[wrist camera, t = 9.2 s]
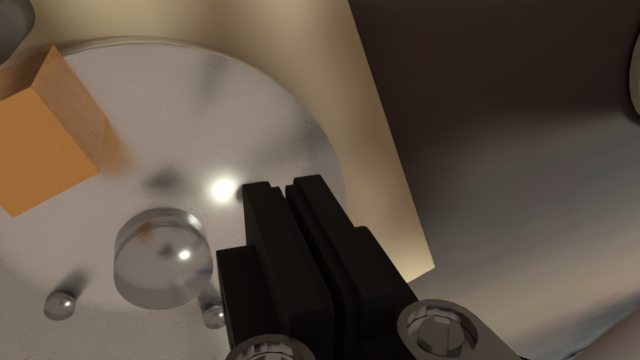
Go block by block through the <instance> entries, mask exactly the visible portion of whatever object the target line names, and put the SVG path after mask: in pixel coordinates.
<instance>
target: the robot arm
mask: <svg viewBox="0 0 640 360" xmlns="http://www.w3.org/2000/svg"><path fill="white" fill-rule="evenodd" d="M629 87H630V95H631V100H632V103H633V105H634V108H635V110H636V112H637V113H638V114H639V115H640V33H639V36H638V39H637V42H636V45H635V48H634V51H633V56H632V60H631V65H630V77H629ZM242 196H243V209H244V222H245V235H246V245H245V246H239V247H233V248H227V249H221V250H216V261H217V270H218V278H219V287H220V294H221V301H222V307H223V314H224V320H225V325H226V330H227V336H228V341H229V347H230V352H229V354H228V355H227V357H226V358H225V360H529V359H526V358H523V357H521V356H518V355H517V354H516V353H515V352H514V351H513V350H512V349H510V348H509V347H508V346H507V345H506V344H505V343H504V342H503V341H502V340H501V339H500V338H499V337H498V336H497V335H496V334H495V333H494V332H493V331H492V330H491V329H490V328H489V327H487V326H486V325H485V324H484V323H483V322H482V321H481V320H480V319H479V318H478V317H477V316H476V315H474V314H473V313H472V312H470V311H469V310H468V309H466V308H464V307H462V306H460V305H458V304H456V303H453V302H449V301H445V300H439V299H426V300H422V301H419V300H418V299H417V297H416V296H415V294H414V293H413V291H412V290H411V289H410V287H409V286H408V284H407V283H406V281H405V280H404V278H403V277H402V276H401V274H400V273H399V271H398V270H397V268H396V267H395V265H394V264H393V263H392V261H391V260H390V258H389V257H388V255H387V254H386V253H385V251H384V250H383V248H382V247H381V245H380V244H379V242H378V241H377V240H376V238H375V237H374V235H373V234H372V232H371V231H370V230H369V229H368V228H367V227H366V226H358V227H354V225H353V224H352V222H351V221H350V219H349V217H348V216H347V214H346V213H345V211H344V210H343V208H342V207H341V205H340V204H339V202H338V201H337V199H336V198H335V196H334V194H333V193H332V191H331V190H330V188H329V187H328V185H327V184H326V182H325V181H324V179H323V178H322V176H321V175H320V174H316V175H308V176H301V177H295V178H294V180H293V184H291V185H286V186H285V197H284V195H283V193H282V191H281V189H280V187H279V186H276V187H271V185H270V183H269V181H264V182H257V183H249V184H243V185H242Z"/></svg>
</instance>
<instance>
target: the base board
mask: <svg viewBox="0 0 640 360" xmlns="http://www.w3.org/2000/svg"><path fill="white" fill-rule="evenodd" d="M151 36H157V37H165V38H173V39H181V40H188V41H192V42H196V43H200V44H204V45H208V46H211V47H215V48H218V49H220V50H223V51H225V52H228V53H230V54H233V55H236V56H238V57H241V58H243V59H244V60H246V61H248V62H250V63H251V64H253V65H255V66H257V67H259V68H260V69H262V70H264V71H265V72H267V73H268V74H269V75H271V76H272V77H273V78H275V79H276V80H277V81H279V82H280V83H281V84H283V85H284V86H285V87H286V88H287V89H288V90H289V91H290V92H291V93H292V94H293V95H294V96H295V97H296V98H297V99H298V100H299V101H300V102H301V103H302V104H303V105H304V106H305V107H306V109H307V110H308V111H309V112H310V113H311V114H312V115H313V117H314V118H315V119H316V121H317V122H318V124H319V125H320V126H321V128H322V129H323V130H324V132H325V133H326V135H327V137H328V139H329V141H330V143H331V145H332V147H333V148H334V150H335V153H336V156H337V158H338V161H339V164H340V167H341V170H342V174H343V179H344V185H345V190H346V214H347V216H348V217H349V219H350V221H351V222H352V224H353V225H354V227H358V226H366V227H367V228H368V229H369V230H370V231H371V232H372V234H373V235H374V237H375V238H376V240H377V241H378V242H379V244H380V245H381V247H382V248H383V250H384V251H385V253H386V254H387V255H388V257H389V258H390V260H391V261H392V263H393V264H394V265H395V267H396V268H397V270H398V271H399V273H400V274H401V276H402V277H403V278H404V280H405V281H406V283H408V282H410V281H411V280H413V279H415V278H417V277H419V276H420V275H422V274H424V273H426V272H427V271H429V270H431V269H433V268H434V263H433V260H432V257H431V254H430V251H429V248H428V245H427V242H426V239H425V236H424V233H423V230H422V227H421V224H420V221H419V218H418V214H417V211H416V208H415V205H414V202H413V199H412V196H411V193H410V190H409V187H408V184H407V181H406V178H405V175H404V172H403V168H402V165H401V162H400V159H399V156H398V153H397V150H396V147H395V144H394V141H393V138H392V135H391V132H390V129H389V126H388V123H387V119H386V116H385V113H384V110H383V107H382V104H381V101H380V98H379V95H378V92H377V89H376V86H375V83H374V80H373V77H372V73H371V70H370V67H369V64H368V61H367V58H366V55H365V52H364V49H363V46H362V43H361V40H360V37H359V34H358V31H357V28H356V24H355V21H354V18H353V15H352V12H351V9H350V6H349V3H348V0H0V70H2V69H4V68H6V67H8V66H10V65H12V64H14V63H16V62H18V61H20V60H22V59H24V58H26V57H28V56H30V55H32V54H34V53H36V52H38V51H40V50H42V49H44V48H46V47H48V46H50V45H52V44H54V45H55V47H56V48H57V49H58V50H60V49H64V48H67V47H71V46H75V45H79V44H83V43H86V42H90V41H95V40H103V39H110V38H118V37H151Z"/></svg>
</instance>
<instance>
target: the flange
mask: <svg viewBox="0 0 640 360" xmlns="http://www.w3.org/2000/svg"><path fill="white" fill-rule="evenodd" d="M316 174H320V175H321V176H322V178H323V179H324V181H325V182H326V184H327V185H328V187H329V188H330V190H331V191H332V193H333V194H334V196H335V198H336V199H337V201H338V202H339V204H340V205H341V207H342V208H343V210H344V211H345V213H346V190H345V185H344V179H343V174H342V170H341V167H340V164H339V161H338V158H337V156H336V153H335V150H334V148H333V147H332V145H331V143H330V141H329V139H328V137H327V135H326V133H325V132H324V130H323V129H322V128H321V126H320V125H319V124H318V122H317V121H316V119H315V118H314V117H313V115H312V114H311V113H310V112H309V111H308V110H307V109H306V107H305V106H304V105H303V104H302V103H301V102H300V101H299V100H298V99H297V98H296V97H295V96H294V95H293V94H292V93H291V92H290V91H289V90H288V89H287V88H286V87H285V86H284V85H283V84H281V83H280V82H279V81H277V80H276V79H275V78H273V77H272V76H271V75H269V74H268V73H267V72H265V71H264V70H262V69H260V68H259V67H257V66H255V65H253V64H251V63H250V62H248V61H246V60H244V59H243V58H241V57H238V56H236V55H233V54H230V53H228V52H225V51H223V50H220V49H218V48H215V47H211V46H208V45H204V44H200V43H196V42H192V41H188V40H181V39H173V38H165V37H157V36H151V37H118V38H110V39H103V40H95V41H90V42H86V43H83V44H79V45H75V46H71V47H67V48H64V49H60V50H58V49H57V48H56V47H55V45H54V44H52V45H50V46H48V47H46V48H44V49H42V50H40V51H38V52H36V53H34V54H32V55H30V56H28V57H26V58H24V59H22V60H20V61H18V62H16V63H14V64H12V65H10V66H8V67H6V68H4V69H2V70H0V360H225V358H226V357H227V355H228V354H229V352H230V347H229V341H228V336H227V330H226V325H225V320H224V314H223V307H222V301H221V294H220V287H219V278H218V270H217V261H216V250H221V249H227V248H233V247H239V246H245V245H246V235H245V222H244V209H243V196H242V185H243V184H249V183H257V182H264V181H269V183H270V185H271V187H276V186H279V187H280V189H281V191H282V193H283V195H284V197H285V186H286V185H291V184H293V180H294V178H295V177H301V176H308V175H316Z"/></svg>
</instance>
